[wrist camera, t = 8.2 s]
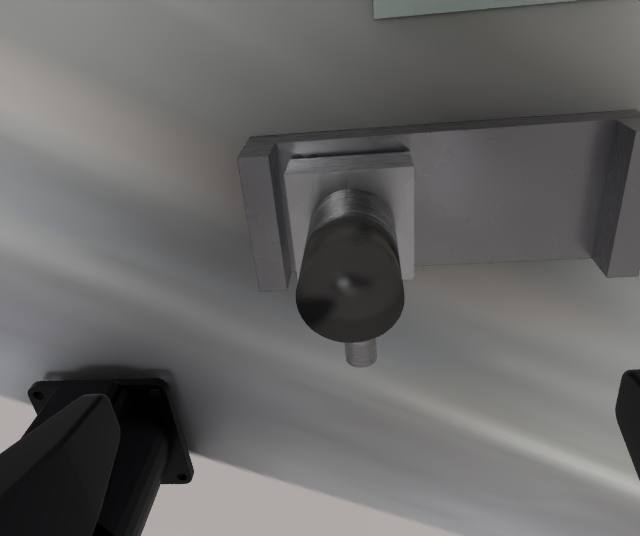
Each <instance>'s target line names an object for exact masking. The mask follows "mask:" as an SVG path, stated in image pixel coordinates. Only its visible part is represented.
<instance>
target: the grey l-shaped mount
mask: <svg viewBox="0 0 640 536" xmlns="http://www.w3.org/2000/svg"><path fill="white" fill-rule="evenodd" d="M565 1H576V0H373V12H374V19H380V18H391V17H401V16H412V15H423V14H434V13H445V12H456V11H467V10H478V9H489V8H500V7H511V6H522V5H533V4H544V3H554V2H565Z"/></svg>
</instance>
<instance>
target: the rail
mask: <svg viewBox="0 0 640 536" xmlns="http://www.w3.org/2000/svg"><path fill="white" fill-rule="evenodd" d="M409 151H410V154H411V157H412V161H413V165H414V266H423V265H445V264H468V263H490V262H513V261H535V260H557V259H580V258H592V259H593V260H594V262H595V263H596V264H597V265H598V267H599V268H600V269H601V271H602V272H603V273H604V274H605V276H606V277H607V278H612V277H636V276H638V275H639V270H640V111H638V110H622V111H608V112H594V113H580V114H566V115H552V116H538V117H524V118H509V119H495V120H481V121H467V122H453V123H439V124H425V125H411V126H397V127H383V128H368V129H354V130H340V131H326V132H312V133H298V134H284V135H270V136H256V137H250V138H249V140H248V142H247V143H246V145H245V146H244V148H243V150H242V151H241V153H240V154H239V156H238V158H237V161H238V167H239V173H240V179H241V185H242V191H243V197H244V202H245V208H246V214H247V220H248V226H249V232H250V238H251V244H252V249H253V255H254V261H255V267H256V273H257V279H258V285H259V291H260V292H270V291H287V289H288V284H289V280H290V275H291V271H296V264H295V256H294V248H293V240H292V233H291V225H290V217H289V209H288V201H287V193H286V186H285V178H284V174H285V171H286V168H287V165H288V163H289V160H290V159H303V158H318V157H333V156H349V155H364V154H379V153H394V152H409Z"/></svg>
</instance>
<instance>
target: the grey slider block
mask: <svg viewBox="0 0 640 536" xmlns="http://www.w3.org/2000/svg"><path fill="white" fill-rule="evenodd" d="M284 178H285V186H286V193H287V201H288V209H289V217H290V225H291V233H292V240H293V248H294V256H295V264H296V272H297V280H298V284H297V289H296V303H297V308H298V311H299V313H300V315H301V317H302V319H303V320H304V321H305V323H306V324H307V325H308V326H309V327H310V328H311V329H312V330H314V331H315V332H316V333H318V334H320V335H321V336H323V337H325V338H328V339H331V340H334V341H338V342H344V343H345V355H346V361H347V362H348V364H350V365H351V366H354V367H367V366H370V365H372V364H373V363H374V362H375V361H376V359H377V352H376V337H378V336H380V335H382V334H384V333H385V332H386V331H388V330H389V329H390V328H391V327H392V326H393V325H394V324H395V323H396V321H397V320H398V318H399V317H400V315H401V312H402V310H403V306H404V289H403V281H402V280H409V279H414V165H413V161H412V157H411V154H410V151H409V152H394V153H379V154H364V155H349V156H333V157H318V158H303V159H290V160H289V163H288V165H287V168H286V171H285V174H284Z"/></svg>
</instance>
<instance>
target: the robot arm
mask: <svg viewBox="0 0 640 536" xmlns="http://www.w3.org/2000/svg"><path fill="white" fill-rule="evenodd" d="M155 389H157V390H159V391H156V390H155ZM28 396H29V398H30V400H31V403H32V405H33V407H34V409H35V411H36V413H37V417H36V418H35V420H34V421H33V422H32V424H31V425H30V427H29V428H28V429H27V431H26V432H25V434H24V435H23V436H22V438H21V439H20V440H19V441H18V442H16V443H15V444H13V445H12V446H11V447H9V448H8V449H6V450H5V451H4V452H2V453H1V454H0V536H141V533H142V531H143V528H144V526H145V523H146V520H147V518H148V515H149V512H150V510H151V507H152V505H153V502H154V500H155V497H156V494H157V492H158V489H159V487H160V484H186V483H189V482H191V480H192V477H193V474H194V470H193V466H192V462H191V459H190V456H189V452H188V449H187V446H186V442H185V439H184V436H183V432H182V429H181V425H180V422H179V419H178V415H177V412H176V409H175V405H174V402H173V399H172V395H171V392H170V389H169V386H168V384H167V383H166V382H165V381H164V380H161V379H157V378H150V379H110V380H70V381H38V382H35V383H34V384H33V385H32V386H31V388H30V389H29V390H28ZM615 412H616V419H617V422H618V425H619V427H620V430H621V433H622V435H623V438H624V441H625V443H626V446H627V449H628V451H629V454H630V456H631V459H632V462H633V464H634V467H635V470H636V472H637V475H638V478H639V480H640V369H637V370H627V371H625V372H624V374H623V376H622V378H621V383H620V388H619V393H618V397H617V402H616V408H615Z"/></svg>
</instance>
